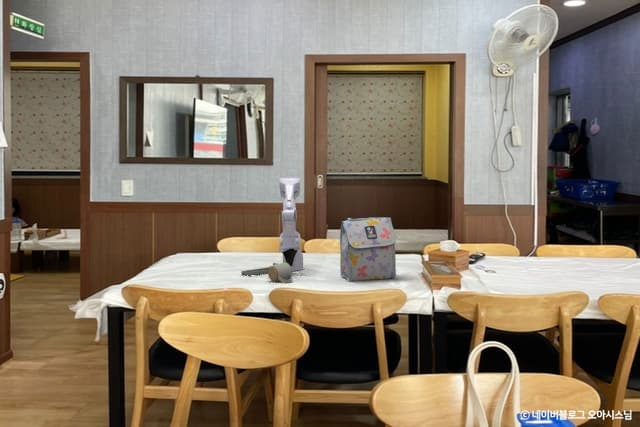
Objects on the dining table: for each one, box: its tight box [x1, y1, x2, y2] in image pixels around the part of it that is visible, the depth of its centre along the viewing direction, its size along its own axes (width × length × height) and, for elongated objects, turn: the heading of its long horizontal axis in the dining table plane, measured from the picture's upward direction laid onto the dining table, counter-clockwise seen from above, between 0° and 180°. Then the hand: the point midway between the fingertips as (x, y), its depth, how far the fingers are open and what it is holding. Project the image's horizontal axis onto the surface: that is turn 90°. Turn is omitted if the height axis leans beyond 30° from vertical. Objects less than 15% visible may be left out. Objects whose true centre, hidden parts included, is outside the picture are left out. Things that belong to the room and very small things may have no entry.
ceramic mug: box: [267, 262, 293, 284], centre depth 302 cm, size 11×8×8 cm
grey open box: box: [240, 266, 269, 277], centre depth 323 cm, size 17×6×2 cm, turn 133°
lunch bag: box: [339, 217, 397, 282], centre depth 307 cm, size 22×17×26 cm
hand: (289, 266), depth 318 cm, fingers closed
